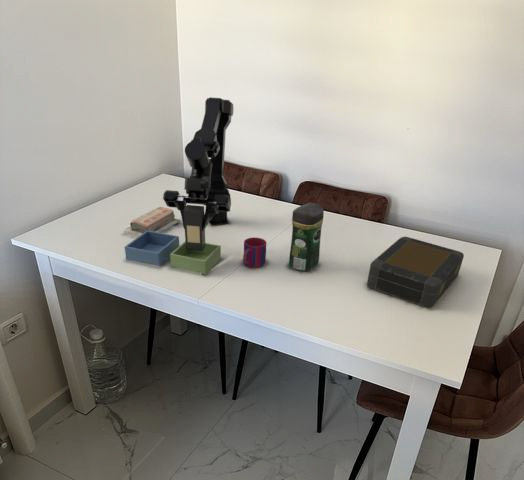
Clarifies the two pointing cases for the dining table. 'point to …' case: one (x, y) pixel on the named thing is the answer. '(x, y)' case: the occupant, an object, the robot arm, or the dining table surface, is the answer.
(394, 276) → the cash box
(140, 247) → the blue bin
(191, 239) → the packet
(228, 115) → the robot arm
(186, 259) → the green bin
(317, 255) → the coffee jar
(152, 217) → the packaged product
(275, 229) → the dining table surface
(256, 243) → the red cup
